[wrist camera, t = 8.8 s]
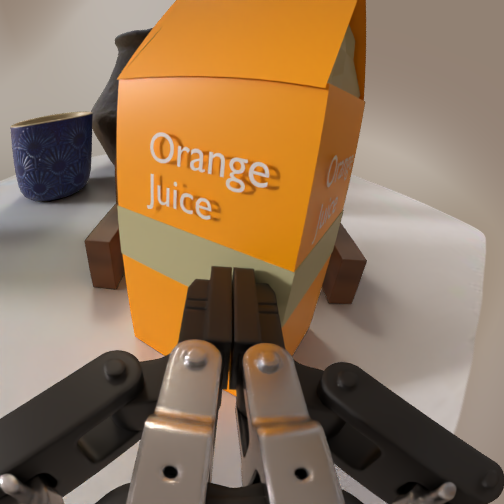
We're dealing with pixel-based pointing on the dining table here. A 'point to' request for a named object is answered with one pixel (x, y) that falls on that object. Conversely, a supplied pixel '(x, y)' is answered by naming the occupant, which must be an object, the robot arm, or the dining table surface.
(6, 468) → the robot arm
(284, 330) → the orange juice
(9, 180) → the dining table surface
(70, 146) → the planter
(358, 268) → the wooden stand
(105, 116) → the pitcher
